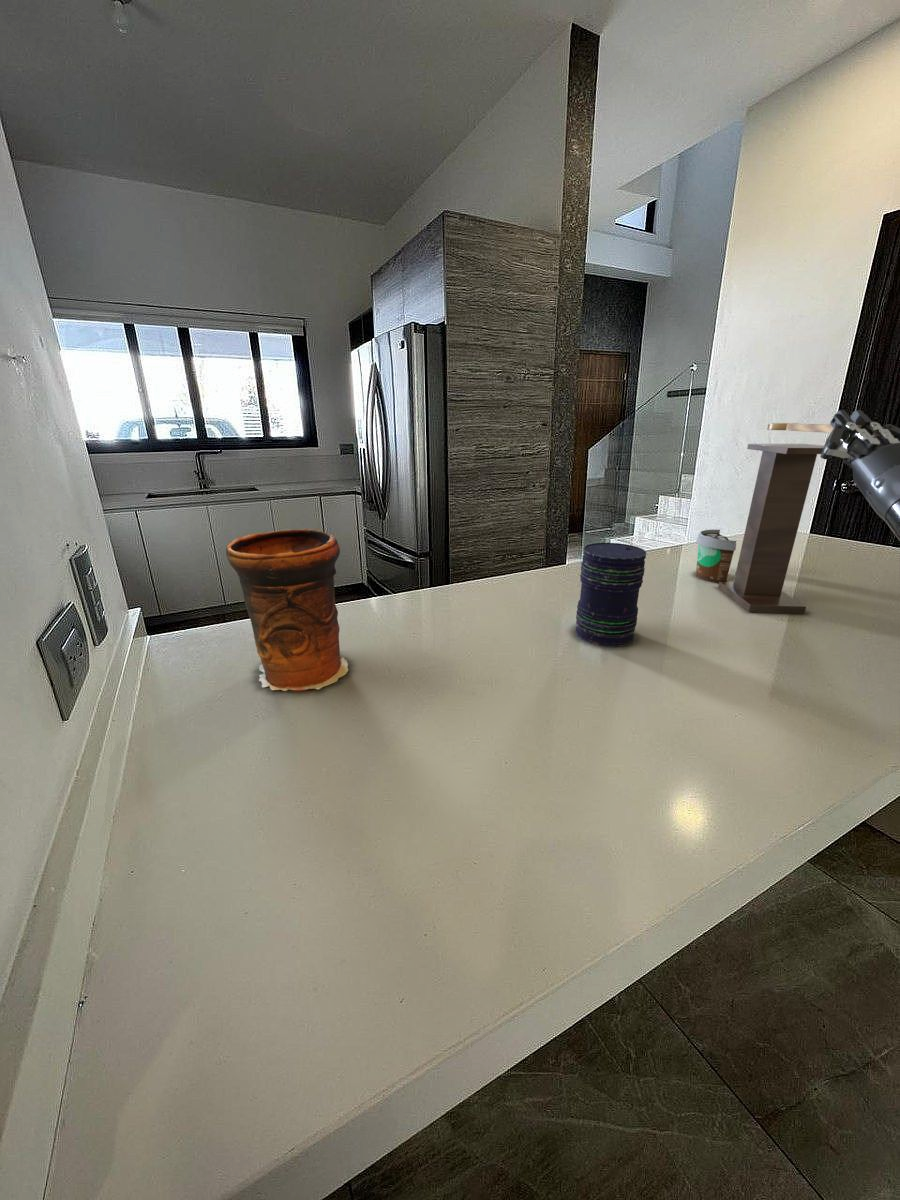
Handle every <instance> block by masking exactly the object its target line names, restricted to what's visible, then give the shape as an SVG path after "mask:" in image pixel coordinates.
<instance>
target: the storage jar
mask: <svg viewBox="0 0 900 1200" xmlns="http://www.w3.org/2000/svg"><path fill="white" fill-rule="evenodd" d="M582 554H583V555H582V559H581V560H582V561H581V562H580V563H581V564H580V565H581V566H580V575H579V577H580V579H579V581H580V582H581V583H580V584H581V586H580V594H579V600H578V601H577V606H576V608H577V609H576V613H575V619H576V621H575V623H576V626H575V630H574V631H575V635H576V636H577V638H579V640H582V641H584V642H586V643H589V644H591V645H595V646H600V647H611V648H614V647H615V648H616V647H624V646H627V645H630V644H631V643H632V642H633V641H634V638H635V633H634V632H635V631H636V626H637V623H638V613H639V607H638V601H639V595H640V589H641V587H642V585H643V582H644V580H643V578H644V576H645V565H646V558H647V551H646V550H645V549H643V548H641V547H639V546H636V545H632V544H626V543H621V542H620V543H619V542H596V543H595V542H594V543H589V544H586V545H585V546H584V547H583V551H582Z"/></svg>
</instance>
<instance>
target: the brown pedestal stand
mask: <svg viewBox="0 0 900 1200" xmlns="http://www.w3.org/2000/svg"><path fill="white" fill-rule="evenodd" d="M823 448H824V445H821V444H811V443H810V444H809V443H747V447H746V449H747V450H752V451H760V452H762V453H761V457H760V460H759V466H758V471H757V475H756V480H755V485H754V489H753V493H752V497H751V502H750V507H749V512H748V515H747V520H746V524H745V530H744V535H743V538H742V544H741V548H740V552H739V557H738V561H737V566H736V571H735V575H734V578H733V581H726V582H719V583H718V588H717V589H719V590H720V591H721V592H723V593H724V594H725V595H726V596H728V597H729V598H730V599H731V600H732V601H734V602H735V603H737V605H739V606H740V607H742V608H743V609H744V610H746V611H747V612H748V613H761V614H762V613H763V614H797V615H805V614H806V609H807V606H806V605H804V604H803V603H801V602H799V601H798V600H797V599H795V598H793V597H791V596H790V595H788V594H787V593H786V592H783V587H784V584H785V580H786V576H787V573H788V569H789V565H790V560H791V557H792V554H793V549H794V545H795V542H796V538H797V534H798V530H799V527H800V522H801V520H802V519H801V518H802V516H803V515H802V514H803V512H804V511H803V510H804V506H805V502H806V501H807V500H806V499H807V495H808V491H809V488H810V484H811V479H812V475H813V473H814V468H815V466H816V465H815V464H816V461H817V457H818V455H821V453H822V450H823Z"/></svg>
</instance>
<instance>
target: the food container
mask: <svg viewBox="0 0 900 1200" xmlns="http://www.w3.org/2000/svg"><path fill="white" fill-rule="evenodd" d="M720 533H721V529H704V530H701V531H700V533H699V534H698V535H697V537H696V539H695V542H696V543H697V544H698V548H697V558H696V568H695V576H696V577H697V578H698V579H701V580H703V581H707V582H711V583H716V584H719V582H727V581H728V576H729V573H730V568H731V564H732V562H733V561H732V560H733V556H734V552H736V549H737V540H731V539H729V538H728V537H727V536H725V535H722V534H720Z"/></svg>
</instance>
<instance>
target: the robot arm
mask: <svg viewBox="0 0 900 1200" xmlns="http://www.w3.org/2000/svg"><path fill="white" fill-rule="evenodd" d="M829 424H831V425H832V427H833V428H834V429H833V430H832V432H831V433H829V435H828V436H827V438H826V439H825V443H824V445H823V446H824V448H823V450H822V453H821V454H820V458H821V459H823V460H826V461H827V460H830V459H831V457H836V458H841V459H842V462H843V463H844V464H845V465H847V466H849V467H850V468H851V469H852V478H853V482H854V484H855V486H856V487H857V488H858V489H859V491H860V492H861V494H862V495H863V497H864V498H865V500H866V501H867V502H868V503H869V506H870V507H871V508H872V509H873V510H874V512H875V513H876V514H877V515H878V517H880V518H881V519H882V520H883V521H884V522H885V523H886V524H887V526H888V527H889V529H890V530H891V532H893V534H894V536H895V537H896V539H897V540H898V541H899V542H900V427H898V426H897V425H893V424H890V423H886V424H885V425H884V426H882V425H881V423H879V422H877V421H873V420H871V418H870V417H869V416H868V415H867V414H866V413H864V411H862V410H860V409H857V410H854V411H853V412H852V413H851V415H849V414H848V412H847V411H846V410H844V409H843V410H841V409H840V410H837V411H836V413H834V415H833V417H832V419H831V420H830V422H829ZM857 425H862V426H861V429H859V427H858V426H857ZM894 436H896V437H894Z"/></svg>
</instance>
